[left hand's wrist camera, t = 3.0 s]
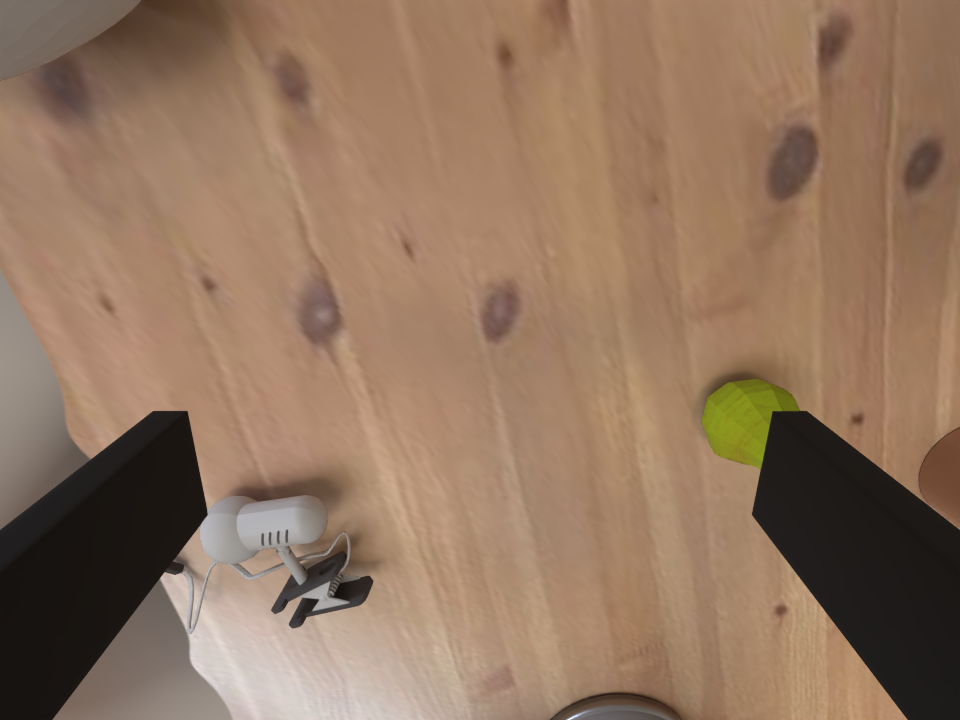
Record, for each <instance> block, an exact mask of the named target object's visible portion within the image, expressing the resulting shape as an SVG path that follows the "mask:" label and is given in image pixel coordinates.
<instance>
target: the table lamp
mask: <svg viewBox="0 0 960 720" xmlns="http://www.w3.org/2000/svg"><path fill="white" fill-rule="evenodd" d="M141 1H142V0H0V80H4V79H8V78H11V77H14V76H17V75H20V74H23V73H26V72H28V71H30V70H33V69H35V68H37V67H40V66H42V65H44V64H46V63H49V62H51V61H53V60H55V59H57V58H59V57H61V56H62V55H64V54H66V53H68V52H70V51H72V50H74V49H75V48H77V47H79V46H81V45H83V44H85V43H86V42H88V41H90V40H91V39H93V38H95V37H96V36H98V35H100V34H101V33H103V32H104V31H106V30H107V29H109V28H110V27H112V26H113V25H115V24H116V23H117V22H118V21H120V20H121V19H122V18H123V17H124V16H126V15H127V14H128V13H129V12H131V11H132V10H133V9H134V8H135V7H136V6H137V5H138V4H139V3H140V2H141Z"/></svg>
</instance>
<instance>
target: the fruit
mask: <svg viewBox="0 0 960 720" xmlns="http://www.w3.org/2000/svg"><path fill="white" fill-rule="evenodd" d="M772 411H800V410H799V408H798V405H797V403H796V401H795V399H794V397H793V396H792V394H790V393H789V392H787V391H786V390H785V389H783V388H780V387H778V386H775V385H773V384H770V383H768V382H765V381H763V380H761V379H749V380H742V381H735V382H729V383H726V384H725V385H724V386H722V387H721V388H719V389H718V390H717V391H715V392H714V393H713V394H711V395H710V396H709V397H708V398H707V402H706V405H705V409H704V413H703V416H702V420H701V423H702V425H703V428H704V430H705V433H706V436H707V438H708V441H709V444H710V446H711V448H712V449H713V451H714V453H715V454H717V455H718V456H720V457H722V458H726V459H729V460H732V461H735V462H738V463H742V464H746V465H752V466H754V467H757V468H759V469H761V467H762V462H763V456H764V451H765V446H766V441H767V436H768V431H769V426H770V421H771V416H772Z"/></svg>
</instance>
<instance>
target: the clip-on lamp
mask: <svg viewBox="0 0 960 720" xmlns="http://www.w3.org/2000/svg"><path fill="white" fill-rule="evenodd" d="M207 512H208V516H207V517H206V518H205V520H204V521H203V522H202V523H201V527H200V539H201V544H202V547H203V549H204V551H205V553H206V554H207V555H208V556H209V557H210V558H211V559H213V560H215V561H214V562H213V563H212V564H211V565H210V568H209V570H208V572H207V574H206V577H205V581H204V584H203V587H202V591H201V595H200V600H199V604H198V608H197V612H196V616H195V619H194V622H193V625H192V627H191V618H192V609H193V600H194V584H193V578H192V576H191V574H190V573H189V572H188V571H187V570H185V569H184V565H183V564H180V563H176V562H172V563H171V564H170V566H169V567H168V568H167V569H166V571H165V572H166V573H170V574H174V575H176V574H179V573H182V574H184V576H185V577H186V579H187V580H188V584H189V591H190V592H189V609H188V619H187V633H189V634H191V633H192V632H193V631H194V629H195V626H196V623H197V621H198V617H199V613H200V609H201V604H202V600H203V595H204V591H205V587H206V584H207V580H208V577H209V575H210V572H211V570H212V568H213V567H214V566H215V564H216V563H223V564H228V565H230V566H231V567H233V568H234V569H235V570H237V571H238V572H239V573H240V574H241V575H242V576H244V577H245V578H246V579H248V580H253V579H256V578H258V577H261V576H263V575H265V574H268V573H270V572H272V571H274V570H277V569H279V568H282V567H284V566H287V568H288V569H289V571H290V572H291V576H290V578H289V580H288V581H287V583H286V585H285V587H284V588H283V590H282V592H281V593H280V595H279V597H278V599H277V600H276V602H275V604H274V606H273V607H272V609H271V611H272V612H273V613H274V614H276V613H279V612H281V611H283V610H284V608H285V607H286V605H287V603H288V602H289V601H291V600H293V599H295V598H297V597H303V598H302V600H301V602H300V604H299V606H298V607H297V609H296V611H295V613H294V615H293V617H292V619H291V621H290V623H289V626H290V627H291V628H297V627H300V626H301V625H302V624H303V623H304V621H305V619H306V617H309V616H314V615H318V614H323V613H328V612H332V611H337V610H341V609H346V608H351V607H355V606H359V605H361V604H362V603H363V602H364V601H365V600H366V598H367V597H368V594H369V592H370V589H371V587H372V584H373V580H372V578H371V577H370V576H364V577H357V576H353V575H349V574H344V573H341V572H342V571H343V570H344V569H345V567H346V566H347V564H348V562H349V560H350V555H351V543H350V537H349V535H348V533H347V532H342V533H341V534H340V535H339V536H338V537H337V538H336V540H335V541H334V543H333V544H332V546H331V547H330V548H329V550H328V551H325V552H318V553H313V554H309V555H305V556H301V557H298V558H296V557H295V555H294V554H293V552H292V551H291V549H290V548H289V546H292V545H299V544H306V543H312V542H314V541H316V540H317V539H319V538H320V536H321V535H322V534H323V533H324V531H325V529H326V526H327V522H328V514H327V510H326V508H325V505H324V504H323V503H322V501H321V500H320V499H318V498H316V497H315V496H310V495H302V496H295V497H289V498H282V499H275V500H268V501H261V502H258V501H256V500H254V499H252V498H250V497H247V496H231V497H227V498H225V499H222V500H220V501H218V502H216V503H215V504H214V505H213V506H212V507H210V508H209V509H208V511H207ZM343 534H345V535H346V537H347V543H348V555H346V554H345V553H344V552H343V551H341V552H339V553H337V554H335V555H333V556H331V557H329V558H327V559H325V560H323V561H322V562H320V563H318V564H316V565H314V566H312V567H310V568H308V569H305V568H304V567H303V566H302V565H301V564H300V562H299V561H302V560H306V559H310V558H314V557H320V556H326V555H328V554H329V553H330V552H331V551H332V550H333V548H334V546H335V545H336V543H337V541H338V540H339V538H340V537H341V536H342V535H343ZM271 548H277V550H276V552H277V553H278V555H279V556H280V558H281V559H282V560H283V562H284V563H281V564H279V565H276V566H274V567H272V568H269V569H267V570H265V571H263V572H260V573H258V574H256V575H252V574H250V573H249V572H248V571H247V570H246V569H245V568H243V567H242V566H241V565H239V564H238V563H242V562H244V561H246V560H248V559H250V558H252V557H253V556H255V555H256V554H257V553H258V552H259V551H260V550H264V549H271ZM346 558H347V560H346ZM345 560H346V562H345ZM344 562H345V564H344ZM343 564H344V565H343Z"/></svg>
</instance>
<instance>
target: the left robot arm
mask: <svg viewBox="0 0 960 720" xmlns="http://www.w3.org/2000/svg"><path fill="white" fill-rule="evenodd" d="M207 516H208V512H207V507H206V502H205V497H204V492H203V487H202V482H201V477H200V472H199V467H198V462H197V456H196V451H195V446H194V441H193V436H192V431H191V426H190V421H189V416H188V411H153V412H152V413H150V414H149V415H148V416H146V417H145V418H144V419H143V420H141V421H140V422H139V423H137V424H136V425H135V426H134V427H132V428H131V429H130V430H128V431H127V432H126V433H124V434H123V435H122V436H121V437H119V438H118V439H117V440H115V441H114V442H113V443H112V444H110V445H109V446H108V447H106V448H105V449H104V450H103V451H101V452H100V453H99V454H97V455H96V456H95V457H94V458H92V459H91V460H90V461H89V462H87V463H86V464H85V465H83V466H82V467H81V468H79V469H78V470H77V471H76V472H74V473H73V474H72V475H70V476H69V477H68V478H67V479H65V480H64V481H63V482H62V483H60V484H59V485H58V486H56V487H55V488H54V489H53V490H51V491H50V492H49V493H47V494H46V495H45V496H43V497H42V498H41V499H40V500H38V501H37V502H36V503H34V504H33V505H32V506H31V507H29V508H28V509H27V510H25V511H24V512H23V513H22V514H20V515H19V516H18V517H16V518H15V519H14V520H13V521H11V522H10V523H9V524H7V525H6V526H5V527H4V528H2V529H1V530H0V720H52V719H53V718H54V717H55V715H56V714H57V713H58V711H59V710H60V709H61V708H62V706H63V705H64V704H65V702H66V701H67V700H68V698H69V697H70V696H71V694H72V693H73V692H74V690H75V689H76V688H77V687H78V685H79V684H80V682H81V681H82V680H83V679H84V677H85V676H86V675H87V673H88V672H89V671H90V669H91V668H92V667H93V665H94V664H95V663H96V662H97V660H98V659H99V658H100V656H101V655H102V654H103V652H104V651H105V650H106V648H107V647H108V646H109V644H110V643H111V642H112V640H113V639H114V638H115V637H116V635H117V634H118V633H119V631H120V630H121V629H122V627H123V626H124V625H125V623H126V622H127V621H128V619H129V618H130V617H131V616H132V614H133V613H134V612H135V610H136V609H137V608H138V606H139V605H140V604H141V602H142V601H143V600H144V598H145V597H146V596H147V594H148V593H149V592H150V591H151V589H152V588H153V586H154V585H155V584H156V583H157V581H158V580H159V579H160V577H161V576H162V575H163V573H164V572H165V571H166V569H167V568H168V567H169V566H170V564H171V563H172V562H173V560H174V559H175V558H176V556H177V555H178V554H179V552H180V551H181V550H182V548H183V547H184V546H185V545H186V543H187V542H188V541H189V539H190V538H191V537H192V535H193V534H194V533H195V531H196V530H197V529H198V527H199V526H200V525H201V523H202V522H203V521H204V520H205V518H206V517H207ZM752 516H753V517H754V518H755V520H756V521H757V522H758V523H759V525H760V526H761V527H762V529H763V530H764V531H765V533H766V534H767V535H768V537H769V538H770V539H771V541H772V542H773V543H774V545H775V546H776V547H777V548H778V550H779V551H780V552H781V554H782V555H783V556H784V558H785V559H786V560H787V562H788V563H789V564H790V566H791V567H792V568H793V569H794V571H795V572H796V573H797V575H798V576H799V577H800V579H801V580H802V581H803V583H804V584H805V585H806V587H807V588H808V589H809V591H810V592H811V593H812V594H813V596H814V597H815V598H816V600H817V601H818V602H819V604H820V605H821V606H822V608H823V609H824V610H825V612H826V613H827V614H828V616H829V617H830V618H831V619H832V621H833V622H834V623H835V625H836V626H837V627H838V629H839V630H840V631H841V633H842V634H843V635H844V637H845V638H846V639H847V641H848V642H849V643H850V644H851V646H852V647H853V648H854V650H855V651H856V652H857V654H858V655H859V656H860V658H861V659H862V660H863V662H864V663H865V664H866V665H867V667H868V668H869V669H870V671H871V672H872V673H873V675H874V676H875V677H876V679H877V680H878V681H879V683H880V684H881V685H882V687H883V688H884V689H885V690H886V692H887V693H888V694H889V696H890V697H891V698H892V700H893V701H894V702H895V704H896V705H897V706H898V708H899V709H900V710H901V712H902V713H903V714H904V715H905V717H906V718H907V719H908V720H960V530H959V529H958V528H956V527H955V526H954V525H953V524H951V523H950V522H949V521H947V520H946V519H945V518H944V517H942V516H941V515H940V514H938V513H937V512H936V511H935V510H933V509H932V508H931V507H929V506H928V505H927V504H926V503H924V502H923V501H922V500H920V499H919V498H918V497H917V496H915V495H914V494H913V493H911V492H910V491H909V490H908V489H906V488H905V487H904V486H902V485H901V484H900V483H899V482H897V481H896V480H895V479H893V478H892V477H891V476H890V475H888V474H887V473H886V472H884V471H883V470H882V469H881V468H879V467H878V466H877V465H875V464H874V463H873V462H872V461H870V460H869V459H868V458H866V457H865V456H864V455H863V454H861V453H860V452H859V451H857V450H856V449H855V448H854V447H852V446H851V445H850V444H848V443H847V442H846V441H845V440H843V439H842V438H841V437H839V436H838V435H837V434H836V433H834V432H833V431H832V430H830V429H829V428H828V427H826V426H825V425H824V424H823V423H821V422H820V421H819V420H817V419H816V418H815V417H814V416H812V415H811V414H810V413H808V412H807V411H772V416H771V421H770V426H769V431H768V436H767V441H766V446H765V451H764V456H763V462H762V467H761V472H760V477H759V482H758V487H757V492H756V497H755V502H754V507H753V512H752ZM552 720H681V719H680V717H679V716H678V715H677V714H676V713H675V712H674V711H672V710H671V709H669V708H668V707H666V706H665V705H663V704H661V703H659V702H657V701H654V700H651V699H648V698H644V697H640V696H634V695H621V694H619V695H605V696H599V697H594V698H590V699H587V700H584V701H581V702H579V703H576V704H574V705H572V706H570V707H568V708H567V709H565V710H563V711H562V712H561V713H559V714H558V715H557V716H555V717H554V718H553V719H552Z"/></svg>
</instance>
